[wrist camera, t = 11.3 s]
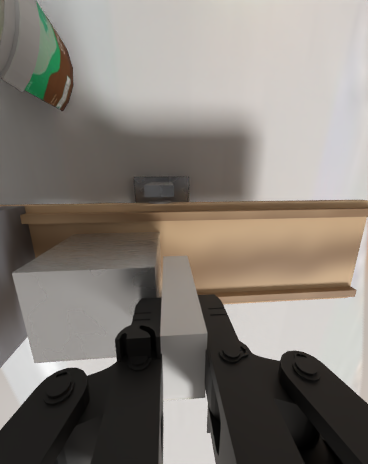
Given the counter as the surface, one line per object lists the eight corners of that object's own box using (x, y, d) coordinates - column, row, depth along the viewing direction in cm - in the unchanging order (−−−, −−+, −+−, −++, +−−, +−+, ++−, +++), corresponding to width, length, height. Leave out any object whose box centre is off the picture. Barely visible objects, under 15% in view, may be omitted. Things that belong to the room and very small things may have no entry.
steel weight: (74, 234, 14) (11, 273, 9) (159, 231, 15) (154, 267, 9) (83, 294, 16) (34, 363, 10) (161, 290, 16) (158, 354, 10)
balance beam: (-64, 203, 15) (-297, 230, 7) (352, 197, 17) (492, 213, 10) (-30, 306, 17) (-181, 406, 10) (332, 288, 19) (434, 357, 12)
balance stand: (23, 177, 22) (-89, 178, 12) (188, 176, 23) (203, 177, 14) (43, 277, 25) (-32, 340, 16) (187, 271, 27) (199, 325, 17)
